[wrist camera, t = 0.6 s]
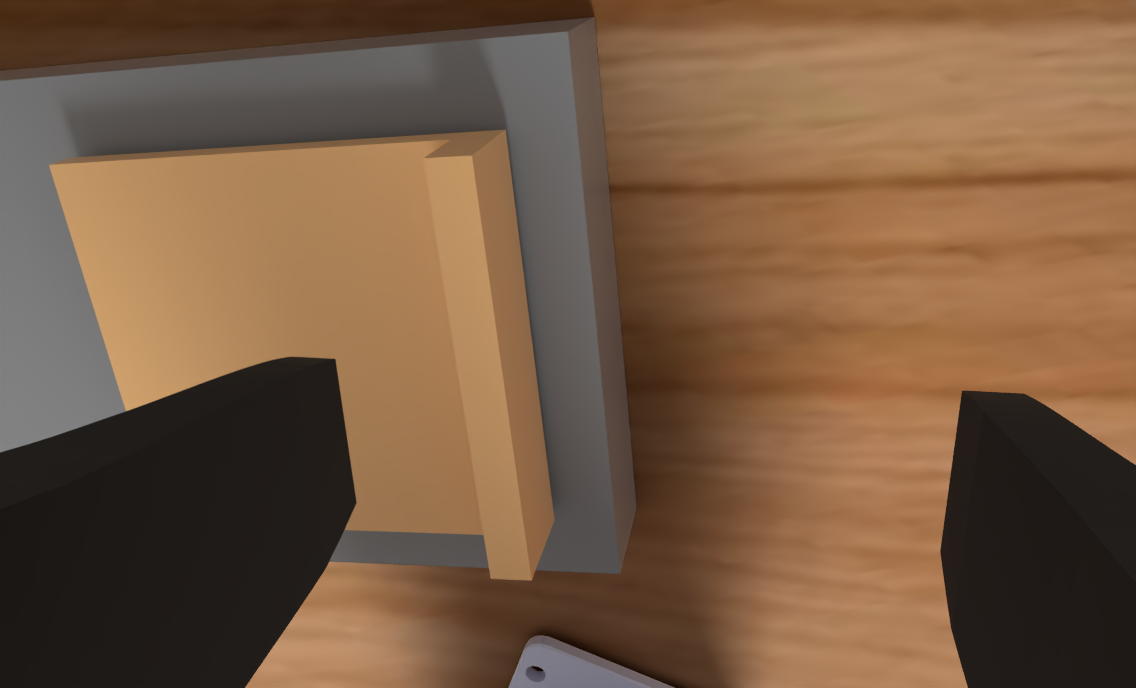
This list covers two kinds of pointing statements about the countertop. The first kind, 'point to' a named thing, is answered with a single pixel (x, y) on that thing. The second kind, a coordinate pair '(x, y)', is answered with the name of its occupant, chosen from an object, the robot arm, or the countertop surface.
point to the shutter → (339, 308)
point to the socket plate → (328, 113)
